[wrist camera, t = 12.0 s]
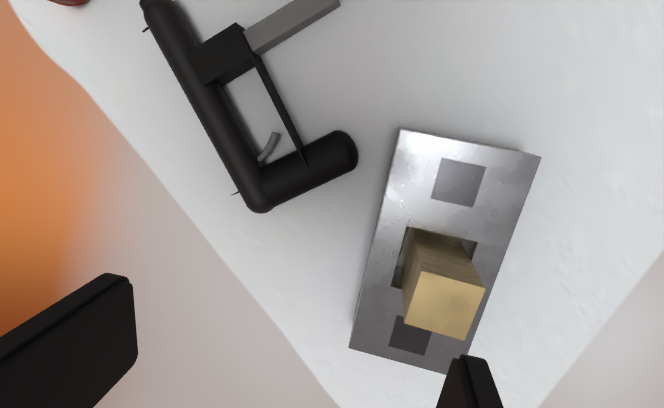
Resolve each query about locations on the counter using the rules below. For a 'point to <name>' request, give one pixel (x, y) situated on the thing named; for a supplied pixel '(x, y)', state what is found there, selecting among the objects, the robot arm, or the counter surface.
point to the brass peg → (438, 284)
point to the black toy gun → (218, 116)
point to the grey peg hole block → (441, 217)
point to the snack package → (69, 2)
